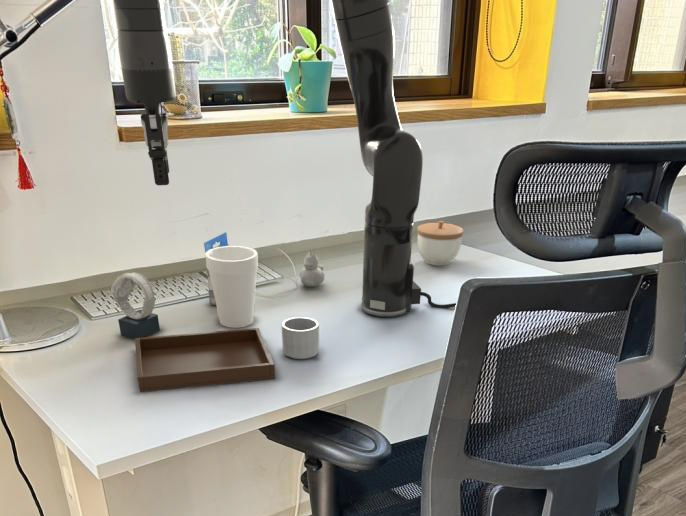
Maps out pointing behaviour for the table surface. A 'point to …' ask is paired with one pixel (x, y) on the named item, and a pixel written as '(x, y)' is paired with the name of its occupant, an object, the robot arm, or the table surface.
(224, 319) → the foam cup
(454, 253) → the trinket box
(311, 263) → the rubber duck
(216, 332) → the tray
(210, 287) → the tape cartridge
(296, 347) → the grey cup
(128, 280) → the ring sculpture on stand
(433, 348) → the table surface
